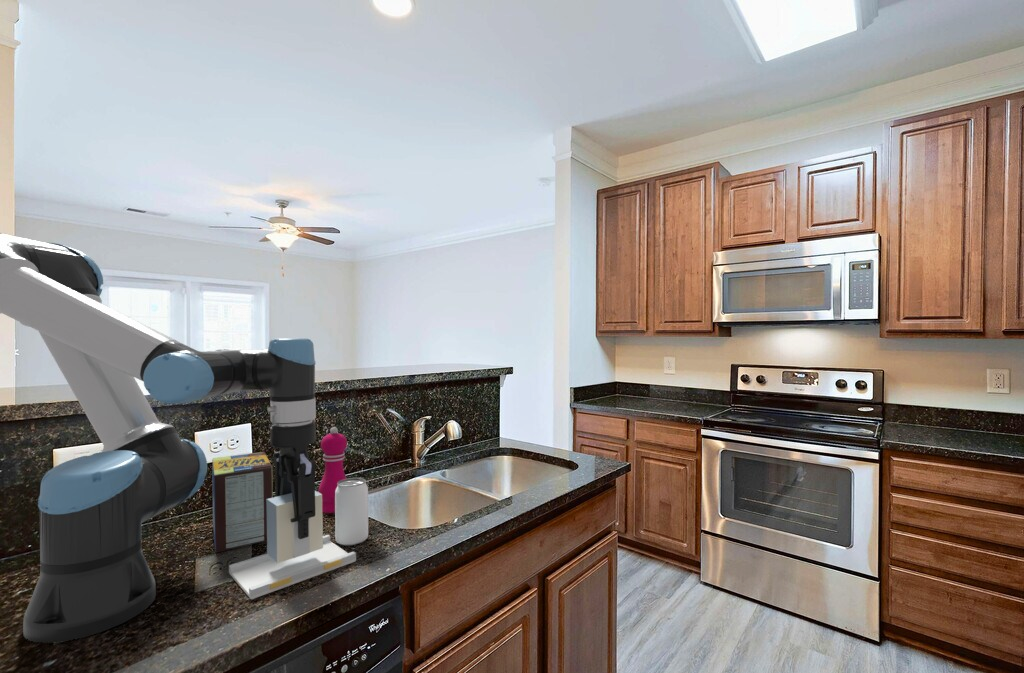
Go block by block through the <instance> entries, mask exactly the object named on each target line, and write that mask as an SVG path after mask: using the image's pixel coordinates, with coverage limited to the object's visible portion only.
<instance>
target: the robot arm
mask: <svg viewBox="0 0 1024 673" xmlns="http://www.w3.org/2000/svg"><path fill="white" fill-rule="evenodd" d="M102 285H104V277H103V274H102V270H101V269H100V268H99V266H98V264H97V263H96V262H95V260H93V259H92V258H91V257H90V256H89V255H87V254H86V253H84V252H82V251H80V250H77V249H76V248H72V247H70V246H67V245H64V244H59V243H55V242H44V241H38V240H33V239H29V238H25V237H20V236H17V235H11V234H6V233H3V232H0V314H2V315H5V316H7V317H8V318H11V319H13V320H15V321H17V322H19V323H20V324H21V325H22V326H25V327H29V328H31V329H34V330H35V331H38V333H39V335H40V336H41V339H42V340H43V342H44V343H45V345H46V347H47V349H48V351H49V353H50V354H51V357H53V359H54V361H55V363H56V365H57V366H58V368H59V369H60V371H61V374H62V376H64V379H65V381H66V382H67V384H68V385H69V387H70V389H71V391H72V393H73V394H74V396H75V398H76V400H77V401H78V403H79V405H80V406H81V408H82V410H83V412H84V414H85V416H86V418H87V420H89V422H90V424H91V426H92V428H93V429H94V431H95V433H96V435H97V437H98V438H99V440H100V442H101V443H102V445H103V448H102V450H101V452H95V453H92V454H90V455H83V456H79V457H76V458H73V459H69V460H66V461H64V462H62V463H60V464H58V465H55V466H54V467H52V468H51V469H50V470H48V471H47V472H46V473H45V474H44V475H43V477H42V479H41V481H40V487H39V488H40V492H39V496H38V500H37V507H38V512H39V513H38V516H39V517H38V519H39V520H38V521H39V523H38V524H39V526H38V527H39V557H40V558H39V561H40V562H39V563H40V564H39V565H40V567H39V568H40V571H39V572H40V573H39V577H38V580H37V582H36V586H35V587H34V590H33V593H32V596H31V598H30V600H29V603H28V605H27V608H26V610H25V613H24V615H23V621H22V622H23V624H22V625H23V627H22V631H23V632H22V633H23V634H22V635H23V637H24V639H25V640H27V639H28V640H27V641H29V640H30V641H29V642H31V641H34V642H33V643H36V642H48V643H47V644H55V643H54V642H56V643H62V641H64V642H68V641H69V640H70V641H73V639H75V640H78V638H79V639H82V637H83V638H87V637H90V636H92V635H95V634H99V633H102V632H105V631H107V630H110V629H113V628H115V627H118V626H119V625H121V624H123V623H126V622H128V621H130V620H131V619H133V618H135V617H137V616H138V615H139V614H141V613H143V612H144V611H145V610H147V609H148V608H149V607H150V606H151V605H152V603H153V602H154V601H155V598H156V595H157V594H156V590H157V589H156V588H157V587H156V579H155V577H154V576H153V573H152V570H151V569H150V566H149V564H148V561H147V560H146V558H145V555H144V553H143V549H142V548H143V546H142V545H143V544H142V536H143V535H142V523H145V522H147V521H148V520H151V519H153V518H154V517H156V516H158V515H160V514H162V513H164V512H165V511H168V510H170V509H172V508H175V507H178V506H179V505H180V504H183V503H184V502H185V501H187V499H189V498H191V497H192V496H193V495H195V493H197V492H198V491H199V490H200V489H201V487H202V485H203V484H204V481H205V478H206V476H207V474H208V461H207V457H206V455H205V452H204V450H203V448H201V447H200V445H199V444H198V443H195V441H190V440H189V439H186V438H181V437H180V436H179V434H178V433H177V431H176V429H175V427H174V425H172V424H167V423H163V422H161V421H160V420H159V419H158V418H157V415H156V414H155V412H154V410H153V408H152V407H151V405H150V403H149V401H148V399H147V397H145V394H144V393H143V391H142V389H141V387H140V385H139V383H138V382H137V380H139V381H141V382H143V386H144V389H145V390H146V391H147V392H148V394H149V396H150V397H151V398H152V399H154V400H155V401H158V403H163V404H168V405H169V404H170V405H175V404H189V403H194V402H196V401H199V400H204V399H208V398H209V399H210V398H213V397H217V396H221V395H226V394H231V393H236V392H238V393H239V392H256V391H262V392H263V391H264V392H265V391H269V401H270V403H269V404H270V406H269V407H267V409H266V410H267V412H268V413H270V417H269V418H270V422H271V423H272V425H271V426H270V429H269V430H270V434H269V435H270V440H269V442H270V445H271V446H272V447H273V448H276V449H279V451H275V452H273V461H274V497H277V496H281V495H286V494H290V493H292V498H293V507H294V516H295V518H292V519H290V520H291V522H292V535H293V557H294V558H296V557H299V556H302V555H305V554H308V553H310V530H309V518H311V517H314V516H315V491H316V484H315V483H316V480H315V478H316V474H315V473H316V468H317V464H316V461H315V460H313V461H310V456H309V452H308V446H309V445H311V444H314V443H315V442H316V439H317V437H316V433H317V432H316V422H314V420H315V419H316V418H317V414H316V413H317V412H316V411H317V410H316V408H317V407H316V406H317V405H316V390H315V389H316V388H315V387H316V384H315V383H316V360H315V347H314V343H313V341H312V340H311V339H309V338H273V339H270V341H269V343H268V347H267V348H266V349H225V348H224V349H215V350H207V351H206V350H205V351H200V350H197V349H194V348H192V347H190V346H188V345H186V344H184V343H182V342H180V341H178V340H176V339H175V338H172V337H170V336H168V335H166V334H164V333H162V332H159V330H156V329H154V328H152V327H151V326H150V327H149V326H147V325H146V324H144V323H142V322H140V321H137V320H136V319H134V318H131V317H130V316H127V315H125V314H124V313H121V312H119V311H117V310H115V309H114V308H111V307H108V306H107V305H104V304H103V302H102V298H101V295H102V293H103V292H102V291H103V288H101V287H102ZM136 379H137V380H136ZM70 641H69V642H70ZM49 642H51V643H49ZM52 642H53V643H52Z"/></svg>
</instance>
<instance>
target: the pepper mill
mask: <svg viewBox="0 0 1024 673" xmlns="http://www.w3.org/2000/svg"><path fill="white" fill-rule="evenodd" d="M329 432H330V433H328V434H325V436H323V437H322V439H321V442H320V449H321V450H322V451H323V455H322V456H323V458H322V460H323V461H324V465H325V466H324V474H323V476H322V479H321V481H320V483H319V487H318V492H319V493H321V494H322V513H324V514H335V491H336V488H337V486H338V484H337V483H338V482H339V481H341V480H344V479H348V478H347V477H346V474H345V471H344V459H345V458H346V456H345V454H346V453H345V450H346V449H347V446H348V441H347V438H346V436H345V435H344V434H341V433H338V432H339V430H338V428H337V427H336V426H333V427H331V428H330V429H329Z"/></svg>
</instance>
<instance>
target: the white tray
mask: <svg viewBox="0 0 1024 673" xmlns="http://www.w3.org/2000/svg"><path fill="white" fill-rule="evenodd" d="M355 562H357V552H355V551H351V552H347V551H346V550H344V549H343V548H341V547H340V546H339V545H337V544H335V543H333V542H332V541H331V535H329V534H325V535H323V548H322V549H319V550H316V551H313V552H310V553H308V554H305V555H302V556H299V557H296V558H292V559H289V560H286V561H283V562H280V563H276V562H275V561H274V560H273V559H272V558H271V557H270V556H269V555H267V553H264V554H261V555H257V556H254V557H250V558H247V559H245V560H241V561H238V562H233V563H232V564H229V565H228V574H229V575H230V576H231V577H232V579H233V580H234V581H235V583H237V585H238V586H239V587H240V589H241V590H242V591H243V592H244V593H245V594H246V596H247V597H248V598H249V599H250V600H254V599H256V598H259V597H261V596H265V595H268V594H270V593H273V592H276V591H278V590H281V589H284V588H287V587H289V586H292V585H295V584H297V583H300V582H303V581H305V580H309V579H311V578H314V577H317V576H319V575H322V574H325V573H327V572H330V571H333V570H336V569H339V568H341V567H344V566H347V565H349V564H352V563H355Z"/></svg>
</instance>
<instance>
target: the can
mask: <svg viewBox="0 0 1024 673" xmlns="http://www.w3.org/2000/svg"><path fill="white" fill-rule="evenodd" d="M366 482H367V481H366V479H364V478H363V477H348V478H347V479H344V480H341V481H339V482H338V483H337V484H338V486H337V488H336V491H335V513H334V514H335V515H334V516H335V518H334V521H335V524H334V527H335V528H334V529H335V530H334V531H335V532H334V534H335V535H334V536H335V543H337V544H338V545H340V546H347V547H348V546H349V547H350V546H357V545H359V544H362V543H364V542H366V540H367V539H368V537H369V487H368V484H367V483H366Z"/></svg>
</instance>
